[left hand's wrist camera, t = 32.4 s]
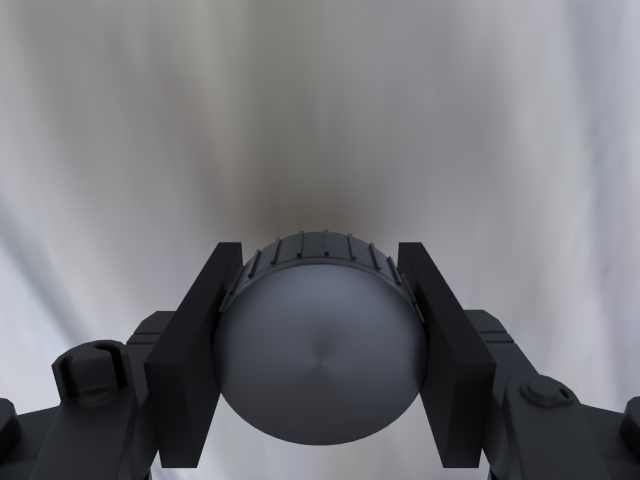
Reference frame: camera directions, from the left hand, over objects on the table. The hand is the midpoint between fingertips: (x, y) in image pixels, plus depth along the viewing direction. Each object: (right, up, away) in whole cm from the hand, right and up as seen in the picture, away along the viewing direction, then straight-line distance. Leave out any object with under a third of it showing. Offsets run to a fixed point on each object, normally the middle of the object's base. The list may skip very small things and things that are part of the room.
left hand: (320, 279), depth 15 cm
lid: (0, -2, -4) cm, 4 cm away
